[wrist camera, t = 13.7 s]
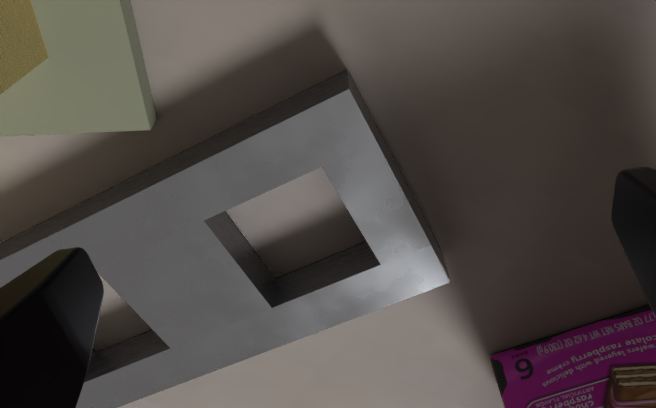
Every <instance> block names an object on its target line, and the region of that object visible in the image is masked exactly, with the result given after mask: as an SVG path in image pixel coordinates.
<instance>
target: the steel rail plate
mask: <svg viewBox="0 0 656 408" xmlns="http://www.w3.org/2000/svg"><path fill="white" fill-rule="evenodd" d="M320 167H322V168H323V170H324V171H325V173H326V175H327V176H328V178H329V180H330V181H331V183H332V185H333V186H334V188H335V190H336V191H337V193H338V195H339V196H340V198H341V199H342V201H343V203H344V204H345V206H346V208H347V209H348V211H349V213H350V214H351V216H352V218H353V219H354V221H355V223H356V224H357V226H358V228H359V229H360V231H361V233H362V234H363V236H364V238H365V239H366V241H367V242H364V243H362V244H359V245H357V246H354V247H352V248H350V249H347V250H345V251H342V252H340V253H337V254H335V255H333V256H330V257H328V258H325V259H323V260H320V261H318V262H316V263H313V264H311V265H308V266H306V267H303V268H301V269H299V270H296V271H294V272H291V273H289V274H286V275H284V276H282V277H279V278H277V279H275V278H274V277H273V275H272V274H271V273H270V271H269V270H268V269H267V267H266V266H265V265H264V263H263V262H262V260H261V259H260V258H259V256H258V255H257V254H256V252H255V251H254V250H253V248H252V247H251V246H250V244H249V243H248V242H247V240H246V239H245V238H244V236H243V235H242V234H241V232H240V231H239V230H238V228H237V227H236V226H235V224H234V223H233V222H232V220H231V219H230V218H229V216H228V215H227V214H226V212H225V211H226V210H228V209H230V208H232V207H235V206H237V205H239V204H241V203H243V202H245V201H248V200H250V199H252V198H254V197H256V196H259V195H261V194H263V193H265V192H267V191H269V190H272V189H274V188H276V187H278V186H280V185H283V184H285V183H287V182H289V181H291V180H293V179H296V178H298V177H300V176H302V175H304V174H307V173H309V172H311V171H313V170H315V169H317V168H320ZM74 247H80V248H83V249H84V250H85V251H86V252H87V253H88V255H89V257H90V259H91V261H92V263H93V265H94V267H95V269H96V271H97V272H98V273H99V274H100V275H101V277H102V278H103V279H104V280H105V281H106V282H107V283H108V284H109V285H110V286H111V287H112V288H113V289H114V290H115V291H116V292H117V293H118V294H119V295H120V296H121V297H122V298H123V299H124V300H125V301H126V303H127V304H128V305H129V306H130V307H131V308H132V309H133V310H134V311H135V312H136V313H137V314H138V315H139V316H140V317H141V318H142V319H143V320H144V321H145V322H146V323H147V324H148V325H149V326H150V327H151V329H152V330H150V331H148V332H145V333H143V334H141V335H138V336H136V337H133V338H131V339H128V340H126V341H124V342H121V343H119V344H116V345H114V346H111V347H109V348H107V349H104V350H102V351H99V352H97V353H96V352H95V351H94V350H93V349H92V354H91V358H90V363H89V367H88V371H87V374H86V378H85V381H84V384H83V387H82V390H81V393H80V396H79V399H78V403H77V406H76V408H117V407H120V406H123V405H125V404H128V403H131V402H133V401H136V400H139V399H141V398H144V397H147V396H149V395H152V394H155V393H157V392H160V391H163V390H165V389H168V388H171V387H173V386H176V385H179V384H181V383H184V382H187V381H189V380H192V379H195V378H197V377H200V376H203V375H205V374H208V373H211V372H213V371H216V370H218V369H221V368H224V367H226V366H229V365H232V364H234V363H237V362H240V361H242V360H245V359H248V358H250V357H253V356H256V355H258V354H261V353H264V352H266V351H269V350H272V349H274V348H277V347H280V346H282V345H285V344H288V343H290V342H293V341H296V340H298V339H301V338H304V337H306V336H309V335H312V334H314V333H317V332H320V331H322V330H325V329H328V328H330V327H333V326H336V325H338V324H341V323H344V322H346V321H349V320H352V319H354V318H357V317H360V316H362V315H365V314H368V313H370V312H373V311H376V310H378V309H381V308H384V307H386V306H389V305H392V304H394V303H397V302H400V301H402V300H405V299H408V298H410V297H413V296H415V295H418V294H421V293H423V292H426V291H429V290H431V289H434V288H437V287H439V286H442V285H445V284H447V283H450V278H449V274H448V271H447V267H446V264H445V260H444V257H443V253H442V252H441V250H440V248H439V246H438V244H437V242H436V240H435V238H434V236H433V234H432V232H431V230H430V228H429V226H428V224H427V223H426V221H425V219H424V217H423V215H422V213H421V211H420V209H419V207H418V205H417V203H416V201H415V199H414V197H413V196H412V194H411V192H410V190H409V188H408V186H407V184H406V182H405V180H404V178H403V176H402V174H401V172H400V170H399V168H398V167H397V165H396V163H395V161H394V159H393V157H392V155H391V153H390V151H389V149H388V147H387V145H386V143H385V141H384V139H383V138H382V136H381V134H380V132H379V130H378V128H377V126H376V124H375V122H374V120H373V118H372V116H371V114H370V112H369V111H368V109H367V107H366V105H365V103H364V101H363V99H362V97H361V95H360V93H359V91H358V89H357V87H356V85H355V83H354V82H353V80H352V78H351V76H350V74H349V72H348V70H345V71H343V72H341V73H339V74H337V75H335V76H333V77H331V78H329V79H328V80H326V81H324V82H322V83H320V84H318V85H316V86H314V87H312V88H310V89H308V90H306V91H304V92H302V93H300V94H298V95H296V96H294V97H292V98H290V99H288V100H286V101H284V102H282V103H280V104H278V105H276V106H274V107H272V108H270V109H268V110H266V111H264V112H262V113H260V114H258V115H256V116H254V117H252V118H250V119H248V120H246V121H244V122H242V123H240V124H238V125H236V126H234V127H232V128H230V129H228V130H226V131H224V132H222V133H220V134H218V135H216V136H214V137H212V138H210V139H208V140H206V141H204V142H202V143H200V144H198V145H196V146H194V147H192V148H190V149H188V150H186V151H184V152H182V153H180V154H178V155H176V156H174V157H172V158H170V159H168V160H166V161H164V162H162V163H160V164H158V165H156V166H154V167H152V168H150V169H148V170H146V171H144V172H142V173H140V174H138V175H136V176H134V177H132V178H130V179H128V180H126V181H124V182H122V183H120V184H118V185H116V186H114V187H112V188H110V189H108V190H106V191H104V192H102V193H100V194H98V195H96V196H94V197H92V198H90V199H88V200H86V201H84V202H82V203H80V204H78V205H76V206H74V207H72V208H70V209H68V210H66V211H64V212H62V213H60V214H58V215H56V216H54V217H52V218H50V219H48V220H46V221H44V222H42V223H40V224H38V225H36V226H34V227H32V228H30V229H28V230H26V231H24V232H22V233H20V234H18V235H16V236H14V237H12V238H10V239H8V240H6V241H4V242H2V243H0V288H1V287H2V286H4V285H5V284H7V283H8V282H10V281H11V280H13V279H14V278H16V277H17V276H19V275H20V274H22V273H23V272H25V271H26V270H28V269H29V268H31V267H32V266H34V265H35V264H37V263H39V262H40V261H42V260H43V259H45V258H46V257H48V256H49V255H51V254H52V253H54V252H55V251H57V250H60V249H67V248H74Z"/></svg>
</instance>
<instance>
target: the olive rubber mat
mask: <svg viewBox="0 0 656 408" xmlns="http://www.w3.org/2000/svg"><path fill="white" fill-rule="evenodd" d="M30 1H31V4H32V7H33V10H34V13H35V16H36V20H37V23H38V26H39V29H40V32H41V35H42V38H43V42H44V45H45V48H46V51H47V54H48V57H49V58H47V59H46V60H45V61H43V62H42V63H41V64H40V65H38V66H37V67H36V68H34V69H33V70H32V71H30V72H29V73H28V74H27V75H25V76H24V77H23V78H21V79H20V80H19V81H17V82H16V83H15V84H13V85H12V86H11V87H10V88H8V89H7V90H6V91H4V92H3V93H2V94H0V136H20V135H44V134H69V133H93V132H118V131H142V130H151V128H152V127H153V125H154V124H155V122H156V120H157V117H156V113H155V108H154V104H153V99H152V95H151V91H150V86H149V82H148V77H147V73H146V69H145V64H144V60H143V55H142V51H141V47H140V42H139V38H138V33H137V29H136V25H135V20H134V16H133V11H132V7H131V3H130V0H30Z"/></svg>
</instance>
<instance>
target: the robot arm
mask: <svg viewBox="0 0 656 408" xmlns="http://www.w3.org/2000/svg"><path fill="white" fill-rule="evenodd" d="M612 223H613V227H614V229H615V231H616V234H617V236H618V238H619V240H620V242H621V245H622V247H623V249H624V251H625V254H626V256H627V258H628V260H629V262H630V265H631V267H632V269H633V271H634V273H635V276H636V278H637V280H638V282H639V285H640V287H641V289H642V291H643V293H644V295H645V297H646V299H647V301H648V303H649V305H650V307H651V309H652V310H653V312H654V314H655V316H656V170H655V169H652V168H649V167H639V168H632V169H625V170H622V171H620V172H619V173H618V175H617V177H616V182H615V190H614V197H613V205H612ZM103 295H104V289H103V284H102V281H101V279H100V277H99V275H98V273H97V271H96V269H95V267H94V265H93V263H92V261H91V259H90V257H89V255H88V253H87V252H86V251H85V250H84V249H83V248H80V247H74V248H67V249H60V250H57V251H55V252H54V253H52V254H51V255H49V256H48V257H46V258H45V259H43V260H42V261H40V262H39V263H37V264H35V265H34V266H32V267H31V268H29V269H28V270H26V271H25V272H23V273H22V274H20V275H19V276H17V277H16V278H14V279H13V280H11V281H10V282H8V283H7V284H5V285H4V286H2V287H1V288H0V408H76V406H77V403H78V399H79V396H80V393H81V390H82V387H83V384H84V381H85V378H86V374H87V371H88V367H89V363H90V358H91V354H92V349H93V344H94V339H95V335H96V330H97V325H98V320H99V315H100V311H101V306H102V301H103Z"/></svg>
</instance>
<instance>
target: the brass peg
mask: <svg viewBox="0 0 656 408" xmlns="http://www.w3.org/2000/svg"><path fill="white" fill-rule="evenodd" d="M47 58H49V57H48V54H47V51H46V48H45V45H44V42H43V38H42V35H41V32H40V29H39V26H38V23H37V20H36V16H35V13H34V10H33V7H32V4H31V1H30V0H0V94H2V93H3V92H4V91H6V90H7V89H8V88H10V87H11V86H12V85H13V84H15V83H16V82H17V81H19V80H20V79H21V78H23V77H24V76H25V75H27V74H28V73H29V72H30V71H32V70H33V69H34V68H36V67H37V66H38V65H40V64H41V63H42V62H43V61H45V60H46V59H47Z"/></svg>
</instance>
